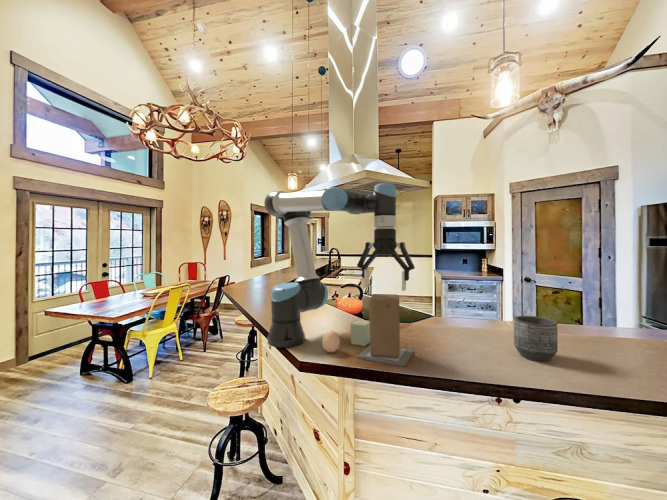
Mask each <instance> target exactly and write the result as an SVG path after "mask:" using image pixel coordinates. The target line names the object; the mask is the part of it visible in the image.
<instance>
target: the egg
mask: <svg viewBox="0 0 667 500" xmlns="http://www.w3.org/2000/svg"><path fill="white" fill-rule="evenodd" d="M321 345H322V348H323V350H324V351H326V352H328V353H335V352H337V350H338V349H339V348H340V345H341V339H340V336H339V334H338V333H337V332H336V331H334V330H330V329H329V330H327V331H326V332H325V333H324V335H323V337H322V339H321Z"/></svg>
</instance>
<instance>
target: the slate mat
mask: <svg viewBox="0 0 667 500" xmlns="http://www.w3.org/2000/svg"><path fill="white" fill-rule="evenodd" d="M413 354H414V349H409V348H404V347H400V355H399V357H397V358H394V357H381V356H372V355H371V354H370V344H368V345H367V346H366V348H365V349H364V350H362V351H361V352H360V353H359V354H358V355H357V359H359V360H367V361H371V362H375V363H381V364H386V365H391V366H397V367H401V368H405V366H406V365H407V363H408V362H409V360H410V359H411V357H412V355H413Z"/></svg>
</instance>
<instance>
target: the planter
mask: <svg viewBox="0 0 667 500" xmlns="http://www.w3.org/2000/svg"><path fill="white" fill-rule="evenodd" d="M558 331H559V330H558V321H556V320H554V319H552V318H548V317H547V318H546V317H544V316H543V317H542V316H537V315H536V316H535V315H517V316H513V345H514V347H515V349H516V350H517V352H518V353H519V355H520V356H521V357H522V358H525V359H526V360H529V361H534V362H543V363H544V362H546V363H547V362H550V361H551V360H552V359H553V358H554V357H555V355H556V354H557V353H558V350H559V349H558V348H559V347H558Z"/></svg>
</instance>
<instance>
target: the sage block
mask: <svg viewBox="0 0 667 500" xmlns="http://www.w3.org/2000/svg"><path fill="white" fill-rule="evenodd" d="M350 344H351V345H355V346H356V345H357V346H361V347H367V346H368V345H369V344H370V321H366V320H365V321H364V320H359V319H358V320H355V321H353V322H352V323H350Z"/></svg>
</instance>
